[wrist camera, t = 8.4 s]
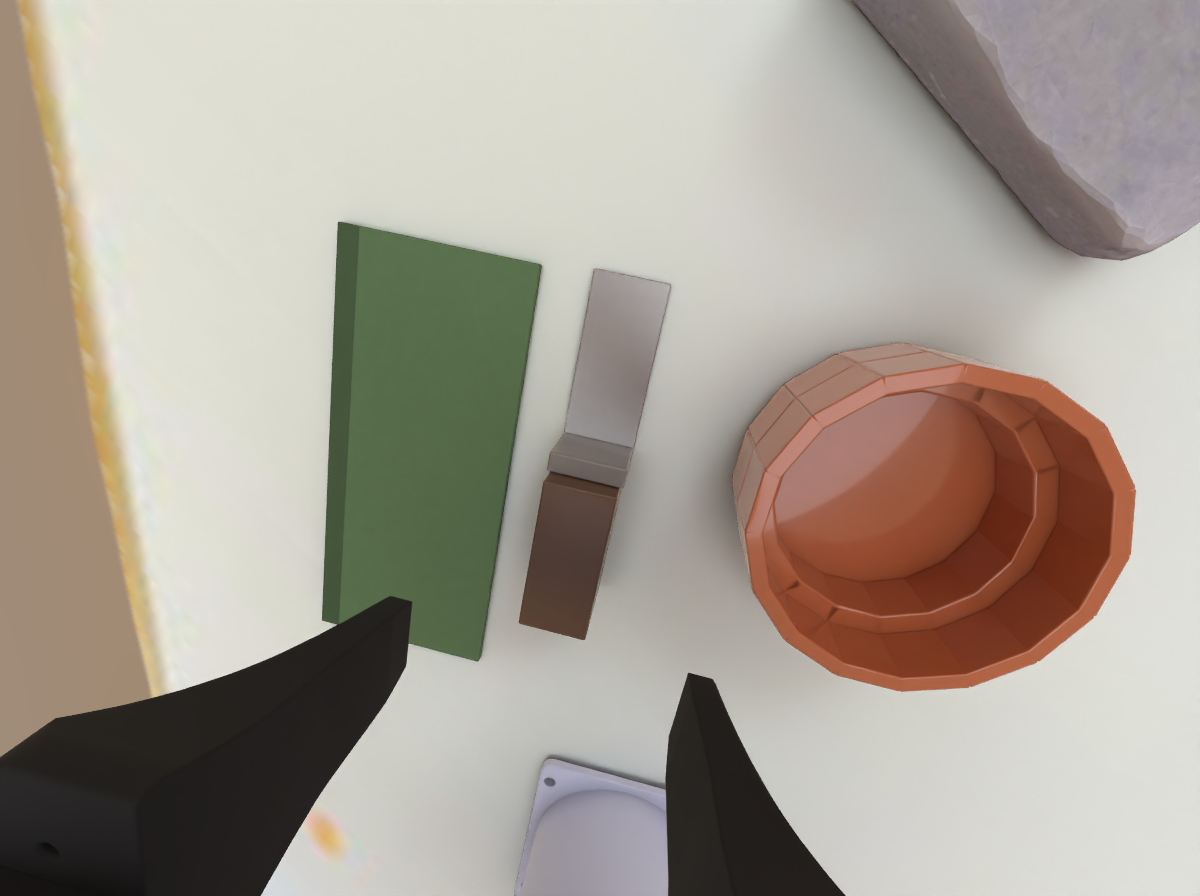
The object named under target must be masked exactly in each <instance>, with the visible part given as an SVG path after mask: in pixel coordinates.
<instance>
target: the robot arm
mask: <svg viewBox="0 0 1200 896" xmlns="http://www.w3.org/2000/svg"><path fill="white" fill-rule="evenodd" d="M412 602H413V601H409V600H405V599H401V598H397V597H393V596H389V597H387V598H385V599H383V600H381V601H379V602H378V603H376V604H374V605H372V606H371V607H369V608H367V609H365V610H363V611H362V612H360V613H358V614H356V615H355V616H353V617H351V618H349V619H347V620H346V621H344V622H342V623H340V624H338V625H336V626H335V627H333V628H331V629H329V630H327V631H325V632H323V633H322V634H320V635H318V636H316V637H314V638H311V639H309V640H307V641H305V642H303V643H301V644H299V645H297V646H295V647H293V648H291V649H289V650H287V651H285V652H283V653H281V654H278V655H276V656H274V657H272V658H269V659H267V660H265V661H262V662H260V663H257V664H255V665H252V666H250V667H247V668H245V669H242V670H240V671H237V672H234V673H232V674H229V675H226V676H223V677H220V678H217V679H214V680H211V681H208V682H205V683H202V684H199V685H196V686H193V687H189V688H186V689H183V690H180V691H176V692H173V693H169V694H165V695H162V696H158V697H154V698H150V699H146V700H143V701H138V702H134V703H130V704H126V705H122V706H117V707H112V708H107V709H103V710H97V711H92V712H87V713H82V714H77V715H72V716H66V717H60V718H55V719H54V720H52V721H51V722H49V723H48V724H47V725H45V726H44V727H42V728H41V729H39V730H38V731H37V732H35V733H34V734H32V735H31V736H30V737H28V738H27V739H25V740H24V741H23V742H21V743H20V744H18V745H17V746H15V747H14V748H13V749H11V750H10V751H8V752H7V753H6V754H4V755H3V756H1V757H0V896H261V894H262V892H263V891H264V889H265V887H266V885H267V883H268V882H269V880H270V878H271V876H272V875H273V873H274V871H275V870H276V868H277V866H278V864H279V863H280V861H281V859H282V857H283V856H284V854H285V852H286V850H287V849H288V847H289V845H290V843H291V842H292V840H293V838H294V837H295V835H296V833H297V831H298V830H299V828H300V826H301V825H302V823H303V821H304V820H305V818H306V816H307V815H308V813H309V811H310V810H311V808H312V806H313V805H314V803H315V801H316V800H317V798H318V797H319V795H320V794H321V792H322V791H323V789H324V788H325V786H326V785H327V783H328V782H329V780H330V779H331V778H332V776H333V775H334V773H335V772H336V771H337V769H338V768H339V767H340V765H341V764H342V762H343V761H344V760H345V758H346V757H347V756H348V754H349V753H350V751H351V750H352V749H353V747H354V746H355V745H356V743H357V742H358V740H359V739H360V738H361V736H362V735H363V734H364V732H365V731H366V729H367V728H368V727H369V725H370V724H371V722H372V721H373V720H374V718H375V717H376V716H377V714H378V713H379V711H380V710H381V708H382V707H383V706H384V704H385V703H386V701H387V699H388V698H389V696H390V694H391V692H392V691H393V689H394V687H395V685H396V684H397V682H398V680H399V678H400V676H401V674H402V672H403V671H404V669H405V667H406V662H407V652H408V642H409V632H410V622H411V612H412ZM550 778H552V779H550ZM514 896H845V894H844V893H843V892H842V891H841V890H840V889H839V888H838V886H837V885H836V884H835V883H834V882H833V881H832V879H831V878H830V877H829V876H828V875H827V873H826V872H825V871H824V870H823V868H822V867H821V866H820V864H819V863H818V862H817V861H816V859H815V858H814V857H813V856H812V854H811V853H810V852H809V850H808V849H807V848H806V847H805V845H804V844H803V843H802V841H801V840H800V839H799V837H798V836H797V834H796V833H795V832H794V830H793V829H792V827H791V826H790V825H789V823H788V822H787V820H786V819H785V817H784V816H783V814H782V813H781V811H780V810H779V808H778V806H777V805H776V803H775V802H774V800H773V798H772V797H771V795H770V793H769V792H768V790H767V788H766V787H765V785H764V783H763V781H762V780H761V778H760V776H759V774H758V773H757V771H756V769H755V767H754V765H753V764H752V762H751V760H750V758H749V756H748V754H747V752H746V750H745V748H744V746H743V744H742V742H741V740H740V738H739V736H738V734H737V732H736V730H735V728H734V726H733V723H732V721H731V719H730V717H729V715H728V712H727V710H726V708H725V705H724V703H723V701H722V698H721V696H720V694H719V691H718V689H717V686H716V684H715V682H714V680H713V679H710V678H707V677H703V676H699V675H695V674H691V673H688V675H687V679H686V682H685V685H684V689H683V692H682V695H681V698H680V702H679V705H678V708H677V711H676V715H675V718H674V721H673V725H672V728H671V731H670V734H669V742H668V753H667V765H666V790H665V789H662V788H658V787H654V786H651V785H647V784H644V783H640V782H636V781H633V780H629V779H625V778H622V777H618V776H615V775H611V774H607V773H604V772H600V771H596V770H593V769H589V768H586V767H582V766H578V765H575V764H571V763H567V762H564V761H560V760H557V759H547V760H545V761H544V763H543V765H542V768H541V772H540V777H539V781H538V786H537V791H536V795H535V800H534V804H533V809H532V814H531V818H530V823H529V827H528V832H527V836H526V841H525V846H524V850H523V855H522V859H521V864H520V869H519V873H518V878H517V882H516V887H515V892H514Z"/></svg>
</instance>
